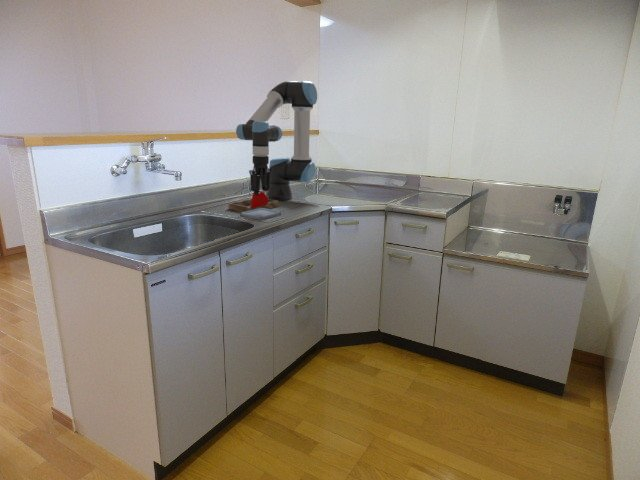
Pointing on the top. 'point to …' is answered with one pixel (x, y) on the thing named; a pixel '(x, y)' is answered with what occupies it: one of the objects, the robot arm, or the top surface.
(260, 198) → the gemstone
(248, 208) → the frame
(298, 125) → the robot arm
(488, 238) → the top surface
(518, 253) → the top surface
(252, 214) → the tray
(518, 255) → the top surface
